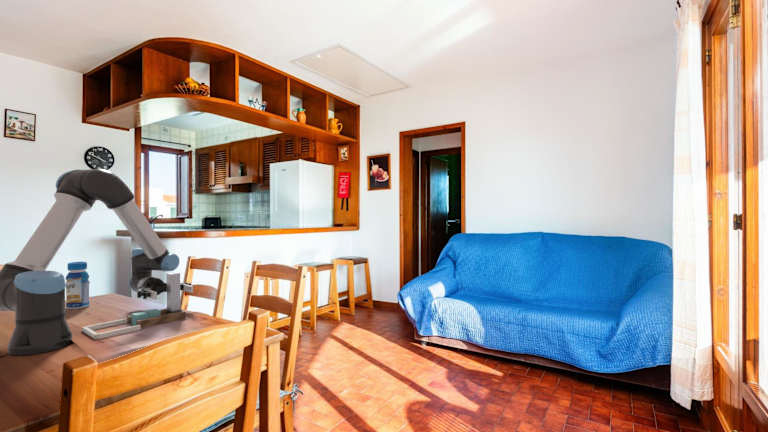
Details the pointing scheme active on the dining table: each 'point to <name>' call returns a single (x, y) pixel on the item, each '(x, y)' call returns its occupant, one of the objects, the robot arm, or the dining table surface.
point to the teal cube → (138, 317)
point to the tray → (94, 335)
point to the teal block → (153, 313)
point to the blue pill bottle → (77, 286)
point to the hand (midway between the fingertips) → (174, 292)
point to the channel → (158, 319)
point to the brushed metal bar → (173, 293)
